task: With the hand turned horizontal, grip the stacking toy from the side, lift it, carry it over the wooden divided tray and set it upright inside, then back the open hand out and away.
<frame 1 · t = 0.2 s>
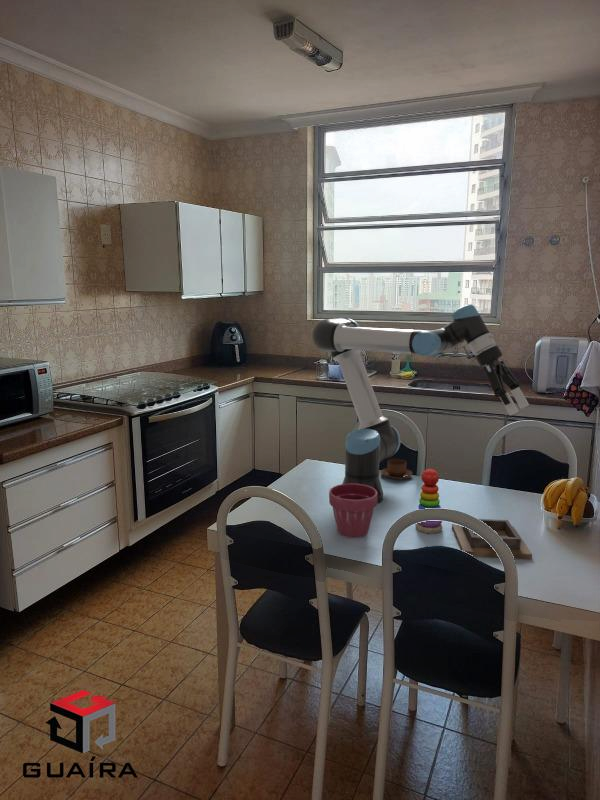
hand: (519, 410, 170), 35 cm above the table, tool tilted 35°, fingers open, 13 cm apart
stacking toy: (428, 529, 167), on the table
cup and saucer: (396, 477, 216), on the table
wooden divided tray: (489, 543, 158), on the table
plant pot: (352, 532, 165), on the table
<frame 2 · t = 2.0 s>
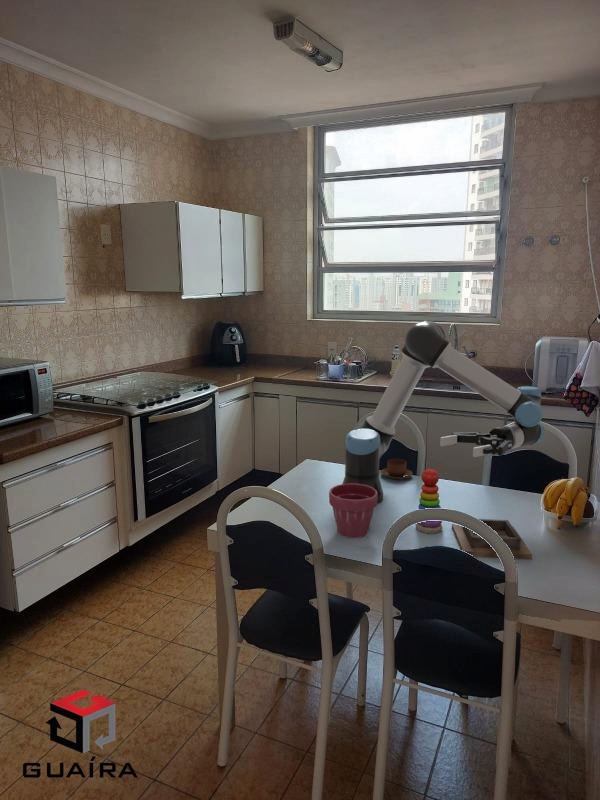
hand: (456, 446, 167), 24 cm above the table, tool horizontal, fingers open, 13 cm apart
nothing on the table moved.
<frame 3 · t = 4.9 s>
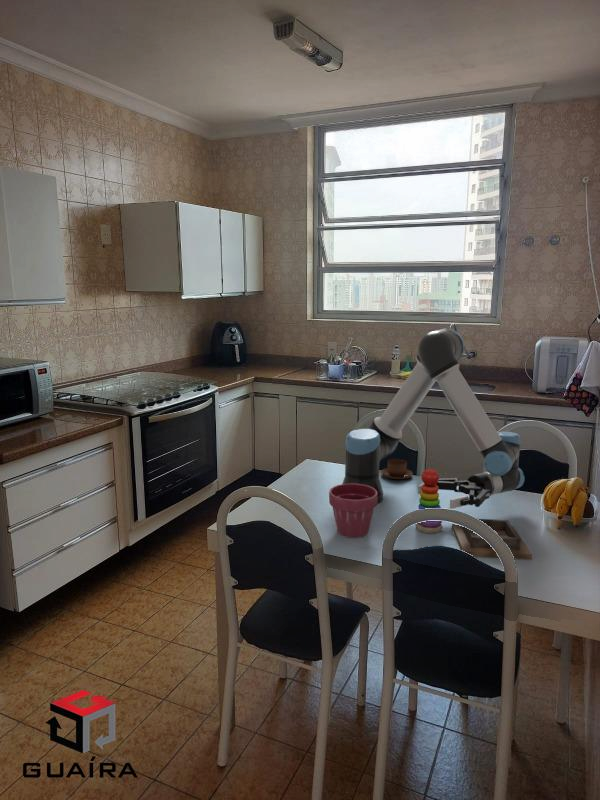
hand: (434, 496, 165), 10 cm above the table, tool horizontal, fingers open, 13 cm apart
nothing on the table moved.
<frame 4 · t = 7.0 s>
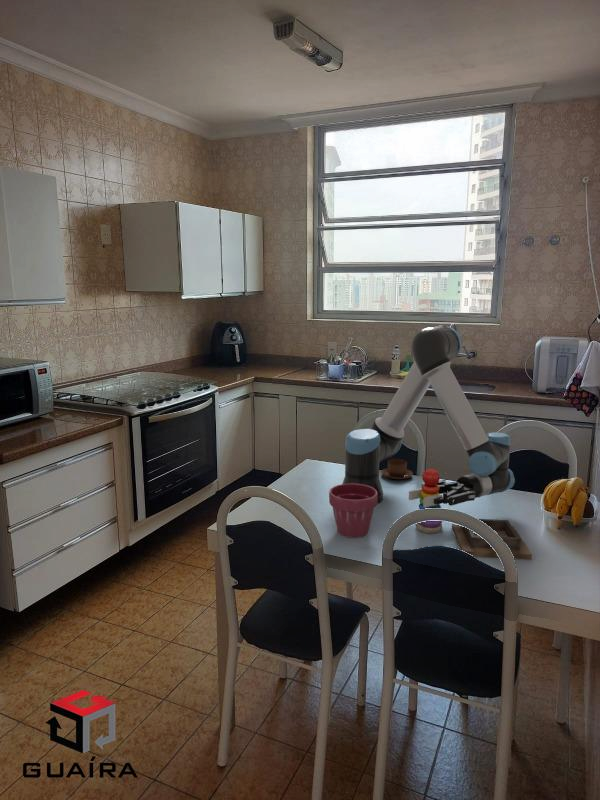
hand: (416, 499, 163), 11 cm above the table, tool horizontal, fingers closed on stacking toy, 6 cm apart
stacking toy: (428, 529, 167), on the table, touching gripper
everything else where it was.
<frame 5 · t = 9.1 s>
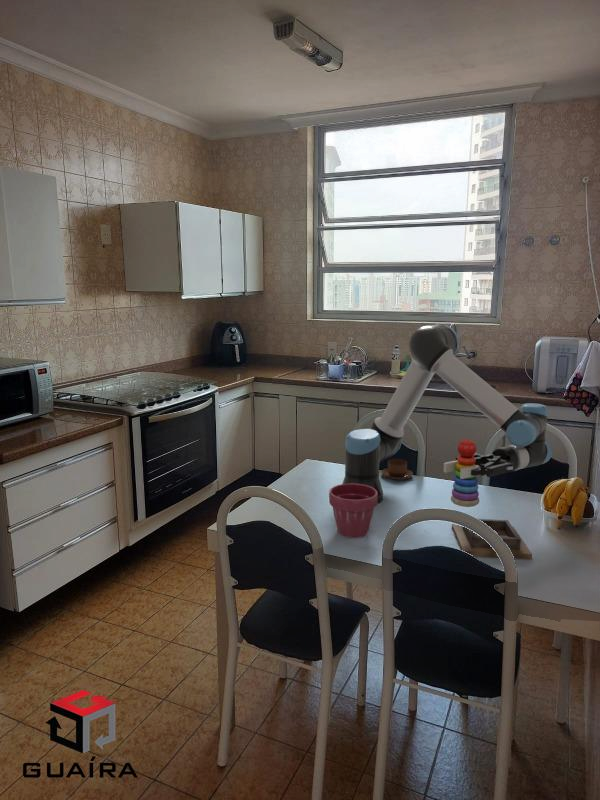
hand: (452, 470, 155), 21 cm above the table, tool horizontal, fingers closed on stacking toy, 6 cm apart
stacking toy: (464, 503, 160), point 10 cm above the table, touching gripper
everything else where it was.
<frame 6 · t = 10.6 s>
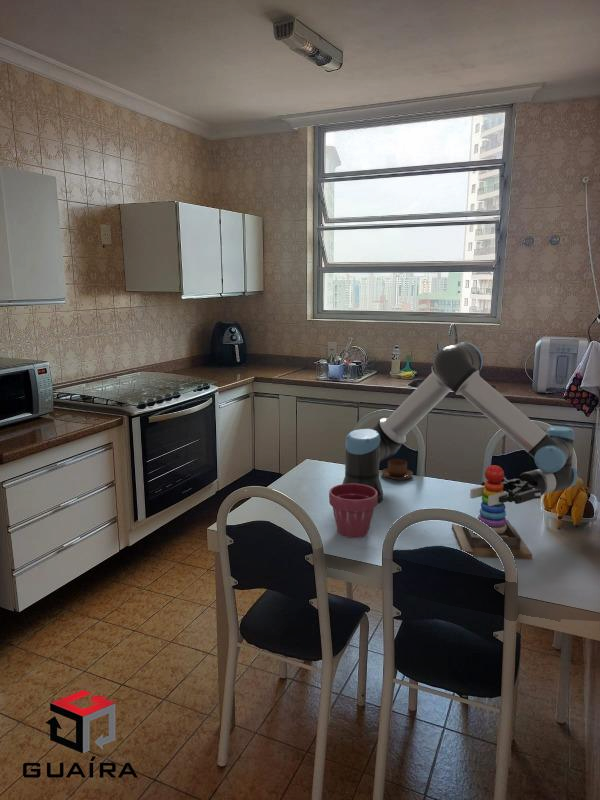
hand: (480, 497, 153), 15 cm above the table, tool horizontal, fingers closed on stacking toy, 6 cm apart
stacking toy: (491, 529, 157), point 4 cm above the table, touching gripper
everything else where it was.
when the fingers open (13 cm above the table, at t = 11.5 s): stacking toy drops 1 cm, resting on wooden divided tray.
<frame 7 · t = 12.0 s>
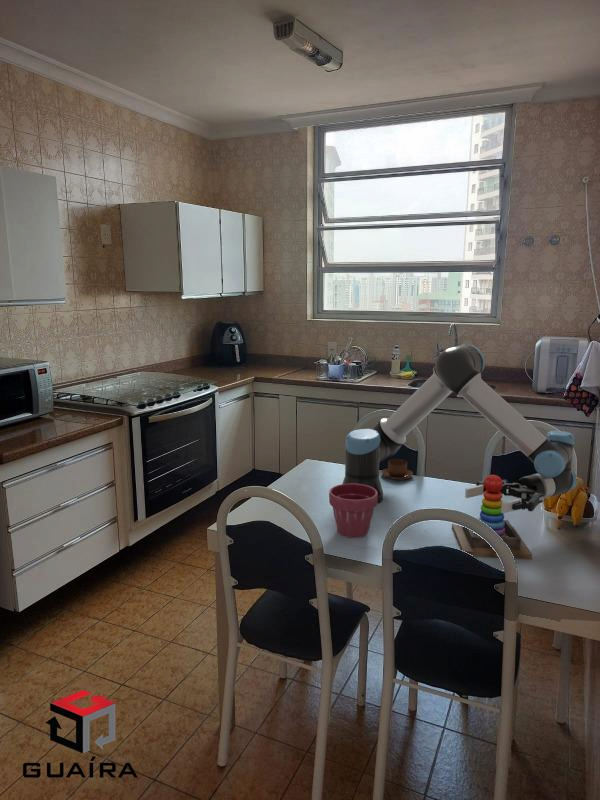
hand: (483, 500, 154), 13 cm above the table, tool horizontal, fingers open, 12 cm apart
stacking toy: (490, 539, 157), point 1 cm above the table, touching wooden divided tray
everything else where it was.
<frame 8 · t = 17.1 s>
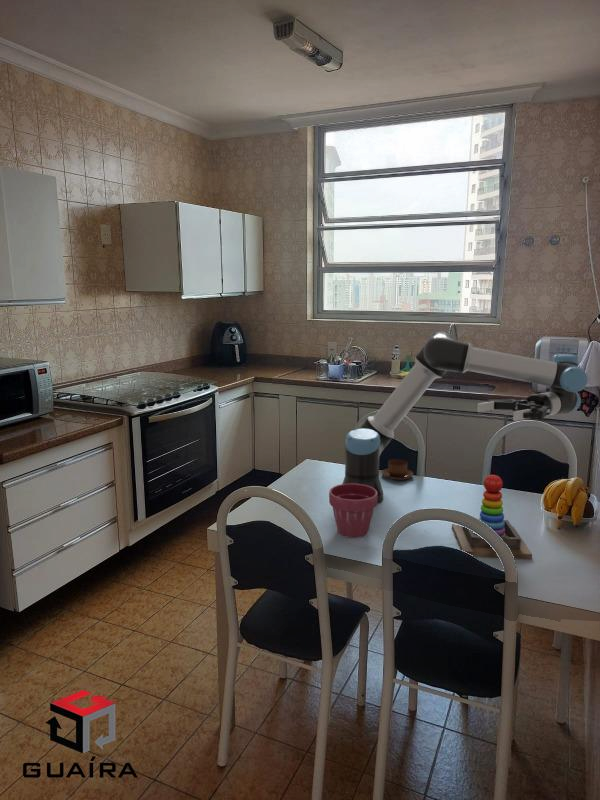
hand: (495, 411, 167), 35 cm above the table, tool horizontal, fingers open, 13 cm apart
nothing on the table moved.
at the end: stacking toy 0.3 cm off-centre on the wooden divided tray, point 1.3 cm above the wooden divided tray's base; stacking toy tilted 0°; the gripper is holding nothing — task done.
